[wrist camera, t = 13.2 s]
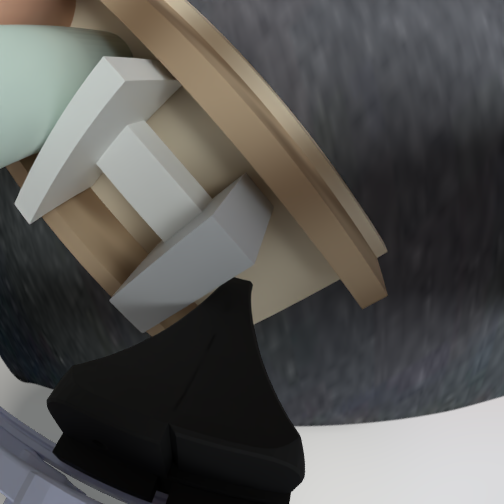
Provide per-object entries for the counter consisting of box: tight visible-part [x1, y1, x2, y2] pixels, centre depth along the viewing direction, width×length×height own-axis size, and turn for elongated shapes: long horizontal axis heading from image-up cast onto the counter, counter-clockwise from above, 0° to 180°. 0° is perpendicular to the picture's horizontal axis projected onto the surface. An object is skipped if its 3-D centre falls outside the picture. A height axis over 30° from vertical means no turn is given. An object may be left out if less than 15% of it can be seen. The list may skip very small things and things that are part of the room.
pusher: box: [15, 56, 274, 333], centre depth 10 cm, size 6×6×4 cm
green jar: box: [0, 25, 133, 169], centre depth 7 cm, size 4×4×8 cm
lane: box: [6, 0, 388, 336], centre depth 10 cm, size 22×10×4 cm, turn 40°
